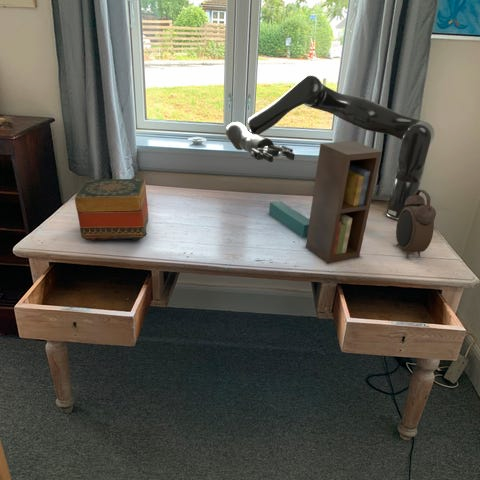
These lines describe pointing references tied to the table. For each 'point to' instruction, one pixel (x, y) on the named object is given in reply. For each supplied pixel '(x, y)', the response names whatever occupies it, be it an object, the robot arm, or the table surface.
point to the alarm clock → (415, 224)
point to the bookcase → (341, 199)
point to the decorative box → (112, 209)
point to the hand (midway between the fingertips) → (282, 158)
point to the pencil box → (289, 218)
